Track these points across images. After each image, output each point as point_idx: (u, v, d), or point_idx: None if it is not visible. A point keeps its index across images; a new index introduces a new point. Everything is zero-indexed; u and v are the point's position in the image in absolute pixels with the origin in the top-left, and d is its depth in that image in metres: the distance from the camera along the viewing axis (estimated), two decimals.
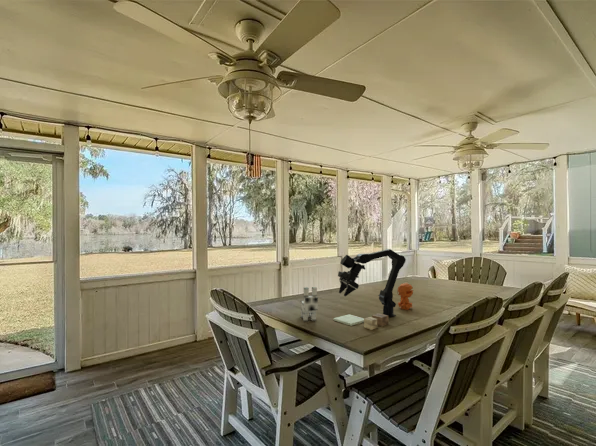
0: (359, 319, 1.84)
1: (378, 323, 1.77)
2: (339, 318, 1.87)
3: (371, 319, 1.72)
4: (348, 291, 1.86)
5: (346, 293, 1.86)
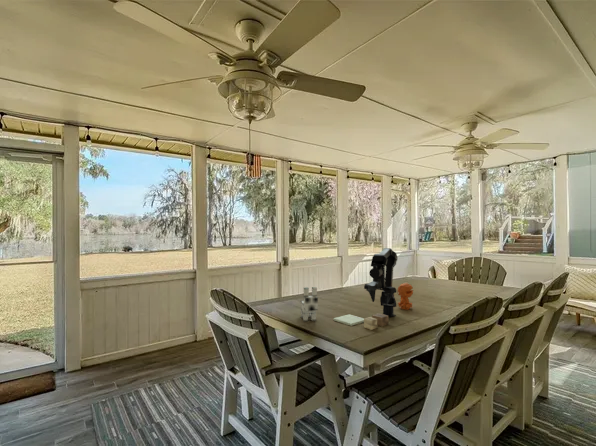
0: (359, 319, 1.84)
1: (378, 323, 1.77)
2: (339, 318, 1.87)
3: (371, 319, 1.72)
4: (388, 298, 1.76)
5: (387, 301, 1.76)
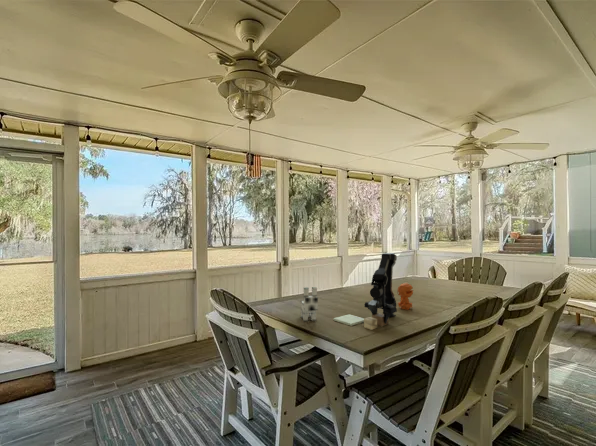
0: (359, 319, 1.84)
1: (378, 323, 1.77)
2: (339, 318, 1.87)
3: (371, 319, 1.72)
4: (387, 317, 1.77)
5: (386, 320, 1.77)
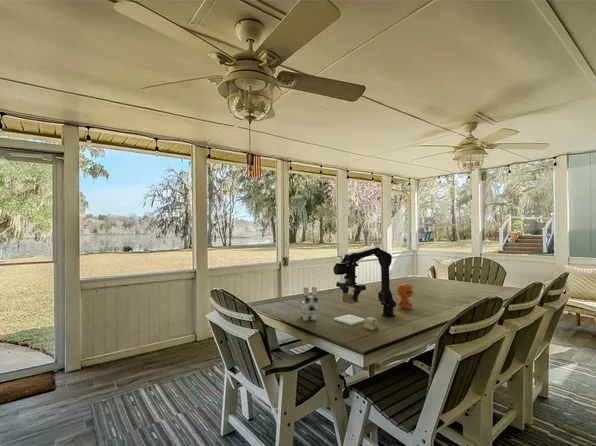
0: (359, 319, 1.84)
1: (348, 301, 1.83)
2: (339, 318, 1.87)
3: (371, 319, 1.72)
4: (356, 295, 1.83)
5: (356, 298, 1.83)
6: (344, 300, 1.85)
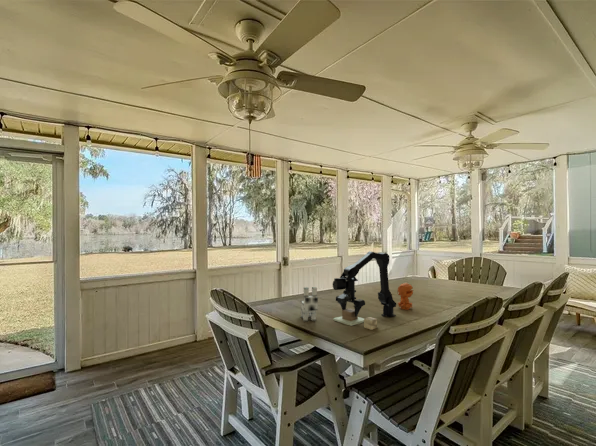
0: (359, 319, 1.84)
1: (347, 318, 1.83)
2: (339, 318, 1.87)
3: (371, 319, 1.72)
4: (357, 310, 1.82)
5: (356, 313, 1.82)
6: (343, 317, 1.86)
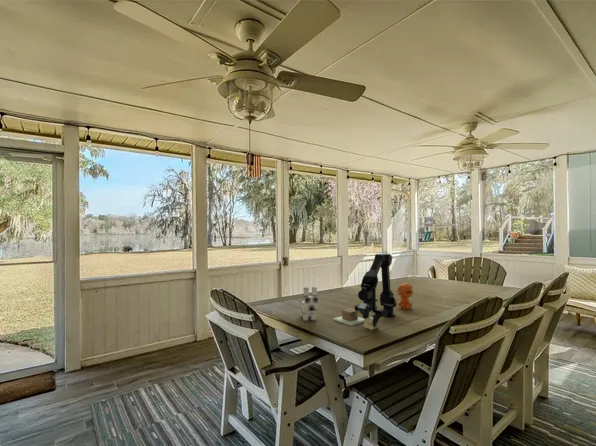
0: (359, 319, 1.84)
1: (347, 318, 1.83)
2: (339, 318, 1.87)
3: (371, 319, 1.72)
4: (376, 320, 1.70)
5: (375, 323, 1.70)
6: (343, 317, 1.86)
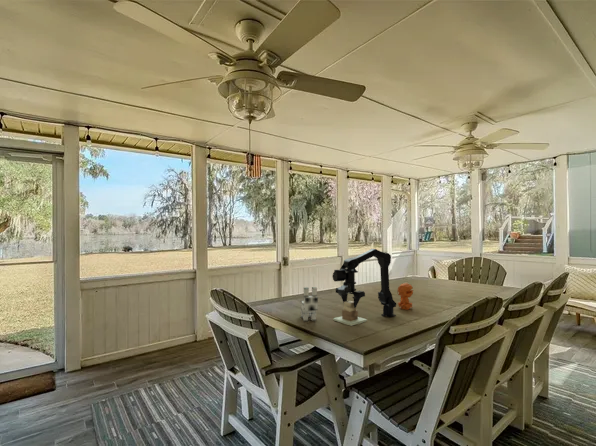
0: (359, 319, 1.84)
1: (347, 318, 1.83)
2: (339, 318, 1.87)
3: (350, 302, 1.85)
4: (356, 302, 1.83)
5: (355, 304, 1.83)
6: (343, 317, 1.86)
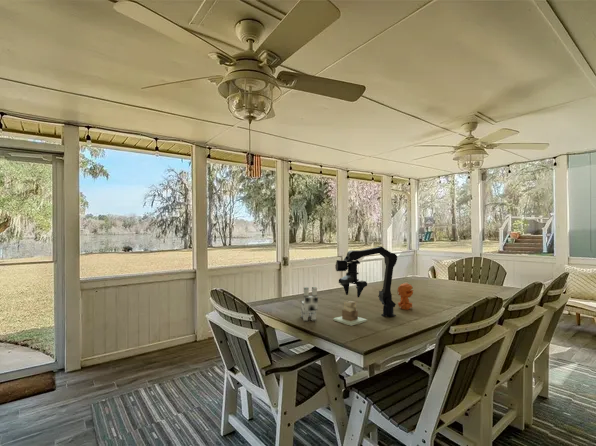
0: (359, 319, 1.84)
1: (347, 318, 1.83)
2: (339, 318, 1.87)
3: (350, 302, 1.85)
4: (360, 291, 1.90)
5: (359, 294, 1.90)
6: (343, 317, 1.86)
